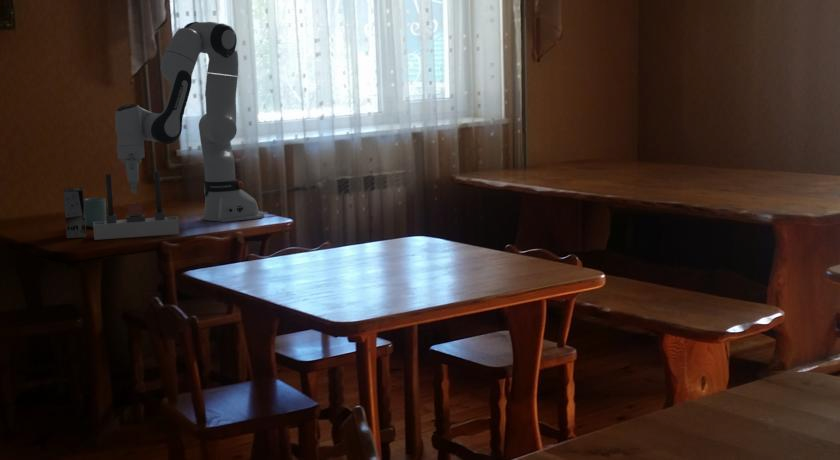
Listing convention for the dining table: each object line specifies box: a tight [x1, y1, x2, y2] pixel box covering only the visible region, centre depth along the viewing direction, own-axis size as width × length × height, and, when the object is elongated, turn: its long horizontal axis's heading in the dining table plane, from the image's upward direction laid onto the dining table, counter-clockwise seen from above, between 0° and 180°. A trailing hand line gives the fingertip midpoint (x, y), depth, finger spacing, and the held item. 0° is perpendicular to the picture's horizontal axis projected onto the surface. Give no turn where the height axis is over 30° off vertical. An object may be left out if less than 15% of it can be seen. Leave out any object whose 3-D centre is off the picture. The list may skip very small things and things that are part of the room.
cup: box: [84, 197, 107, 228], centre depth 378 cm, size 8×8×10 cm
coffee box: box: [62, 187, 87, 239], centre depth 361 cm, size 9×6×16 cm
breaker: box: [128, 204, 143, 216], centre depth 360 cm, size 4×1×3 cm, turn 105°
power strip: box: [92, 213, 180, 241], centre depth 361 cm, size 28×7×7 cm, turn 105°
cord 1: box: [105, 173, 117, 224], centre depth 357 cm, size 3×4×16 cm
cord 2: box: [153, 171, 166, 220], centre depth 361 cm, size 3×4×16 cm
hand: (134, 193), depth 359 cm, fingers closed
